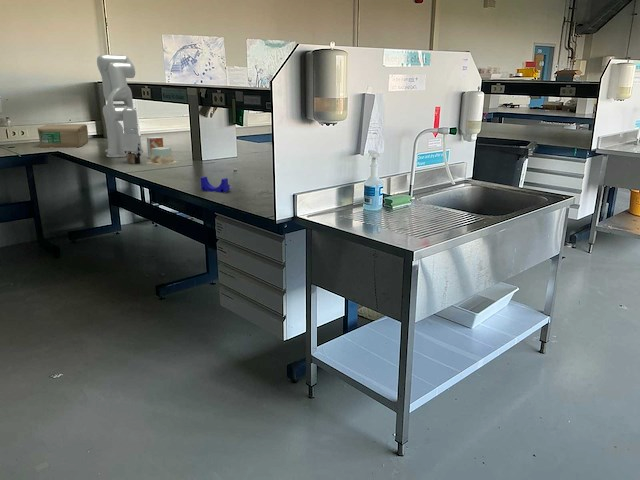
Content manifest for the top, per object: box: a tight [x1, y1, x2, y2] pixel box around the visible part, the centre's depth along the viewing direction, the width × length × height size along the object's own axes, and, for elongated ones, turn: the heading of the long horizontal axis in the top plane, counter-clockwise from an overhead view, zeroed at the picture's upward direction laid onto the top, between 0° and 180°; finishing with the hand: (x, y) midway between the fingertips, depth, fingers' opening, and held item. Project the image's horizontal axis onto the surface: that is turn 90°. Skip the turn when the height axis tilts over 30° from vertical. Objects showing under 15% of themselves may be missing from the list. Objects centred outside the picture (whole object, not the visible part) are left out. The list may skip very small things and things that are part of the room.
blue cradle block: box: [200, 176, 231, 193], centre depth 238 cm, size 12×4×6 cm, turn 71°
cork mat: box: [145, 160, 180, 166], centre depth 306 cm, size 14×14×1 cm
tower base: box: [149, 154, 175, 164], centre depth 305 cm, size 9×9×4 cm
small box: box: [146, 136, 164, 159], centre depth 319 cm, size 8×6×13 cm
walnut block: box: [126, 152, 136, 165], centre depth 300 cm, size 5×5×6 cm
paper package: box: [37, 123, 89, 149], centre depth 369 cm, size 27×26×14 cm
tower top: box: [151, 146, 173, 157], centre depth 304 cm, size 8×8×4 cm
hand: (133, 163), depth 301 cm, fingers closed on walnut block, 5 cm apart
